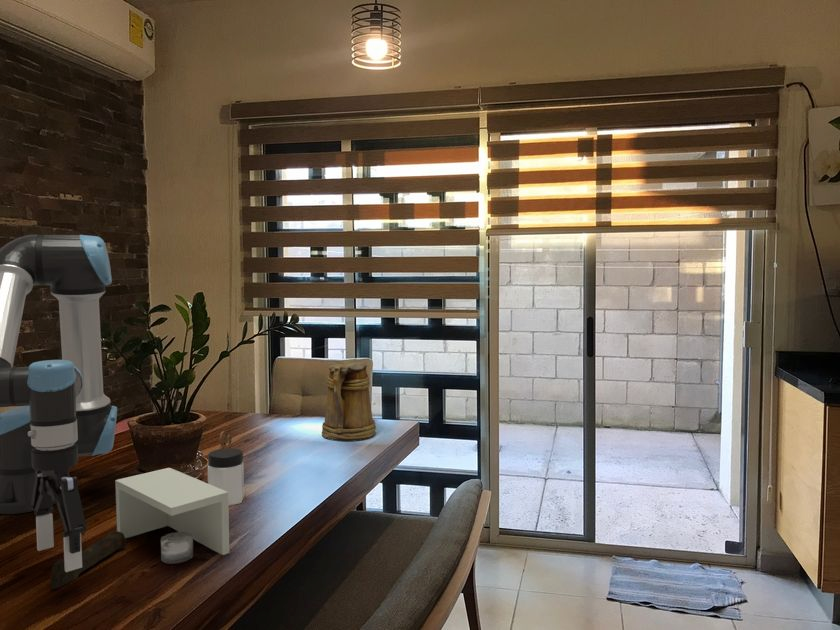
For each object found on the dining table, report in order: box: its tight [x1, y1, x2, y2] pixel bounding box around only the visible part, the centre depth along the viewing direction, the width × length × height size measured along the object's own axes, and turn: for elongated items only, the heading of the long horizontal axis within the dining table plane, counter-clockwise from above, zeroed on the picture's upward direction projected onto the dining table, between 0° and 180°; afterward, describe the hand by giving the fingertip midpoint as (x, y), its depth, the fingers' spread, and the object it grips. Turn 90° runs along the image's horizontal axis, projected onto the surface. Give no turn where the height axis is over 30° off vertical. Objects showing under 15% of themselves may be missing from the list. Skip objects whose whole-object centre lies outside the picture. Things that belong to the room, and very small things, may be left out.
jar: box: [207, 447, 245, 507], centre depth 167 cm, size 9×8×12 cm
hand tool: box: [49, 530, 126, 591], centre depth 131 cm, size 19×4×5 cm, turn 166°
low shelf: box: [114, 467, 230, 556], centre depth 141 cm, size 24×12×12 cm, turn 47°
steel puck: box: [160, 531, 194, 565], centre depth 136 cm, size 6×6×4 cm
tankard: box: [321, 358, 377, 442], centre depth 228 cm, size 18×24×25 cm
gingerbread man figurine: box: [216, 430, 233, 450], centre depth 188 cm, size 9×4×12 cm, turn 168°
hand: (59, 558), depth 127 cm, fingers open, 13 cm apart
